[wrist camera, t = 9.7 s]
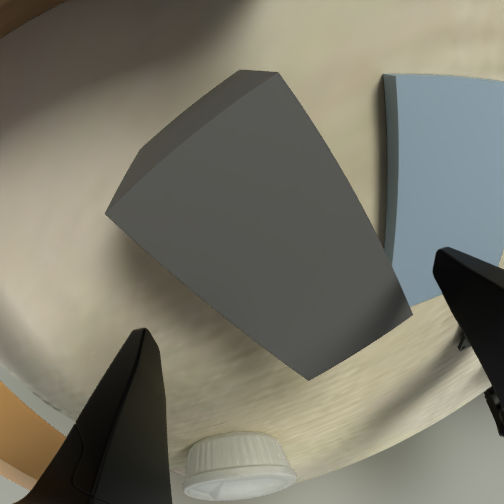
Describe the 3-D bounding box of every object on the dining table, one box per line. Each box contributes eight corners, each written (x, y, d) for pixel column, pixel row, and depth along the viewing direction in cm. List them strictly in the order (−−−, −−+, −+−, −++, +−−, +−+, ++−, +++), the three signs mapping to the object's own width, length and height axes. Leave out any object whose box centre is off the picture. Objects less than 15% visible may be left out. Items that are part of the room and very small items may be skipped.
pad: (489, 262, 20) (496, 269, 19) (378, 305, 19) (384, 316, 18) (516, 83, 12) (528, 87, 11) (383, 73, 11) (395, 75, 10)
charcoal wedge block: (361, 250, 17) (418, 328, 12) (287, 301, 18) (320, 389, 13) (238, 69, 11) (278, 72, 6) (140, 148, 12) (104, 213, 7)
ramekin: (158, 441, 26) (160, 489, 21) (265, 413, 25) (278, 466, 21) (210, 468, 32) (215, 505, 28) (296, 445, 31) (307, 484, 27)
